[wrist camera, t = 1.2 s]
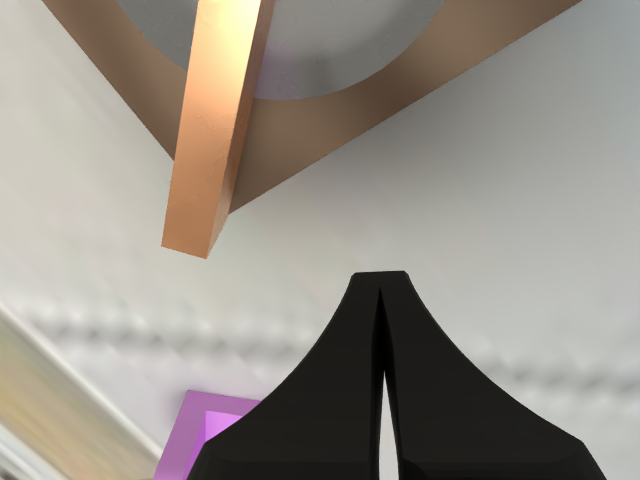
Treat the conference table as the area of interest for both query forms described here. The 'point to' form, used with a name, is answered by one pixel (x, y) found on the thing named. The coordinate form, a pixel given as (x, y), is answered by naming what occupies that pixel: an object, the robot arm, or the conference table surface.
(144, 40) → the stand
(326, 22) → the dial
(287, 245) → the conference table surface
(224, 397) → the bracket
